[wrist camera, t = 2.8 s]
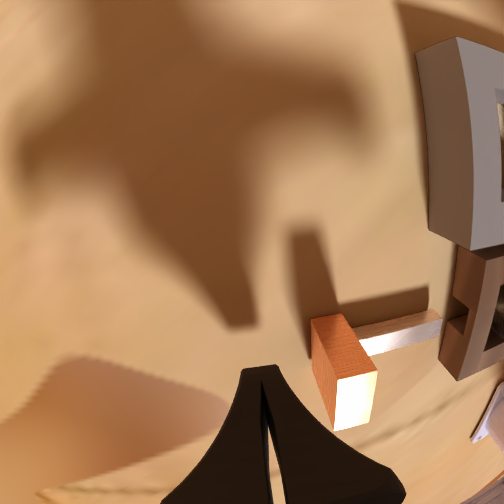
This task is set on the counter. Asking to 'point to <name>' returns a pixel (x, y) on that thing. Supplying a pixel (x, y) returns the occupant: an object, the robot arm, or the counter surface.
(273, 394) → the robot arm
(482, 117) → the block
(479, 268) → the socket block
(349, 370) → the pin
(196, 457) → the counter surface
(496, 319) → the rounded metal peg
